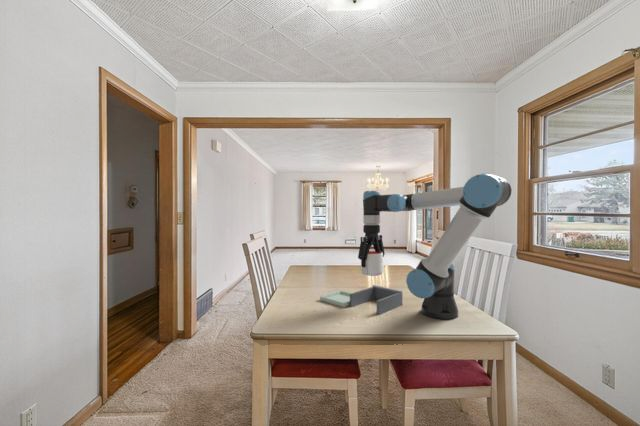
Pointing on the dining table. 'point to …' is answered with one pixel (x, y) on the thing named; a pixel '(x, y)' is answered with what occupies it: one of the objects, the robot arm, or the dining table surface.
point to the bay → (378, 298)
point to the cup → (374, 263)
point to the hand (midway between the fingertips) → (371, 272)
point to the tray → (337, 298)
